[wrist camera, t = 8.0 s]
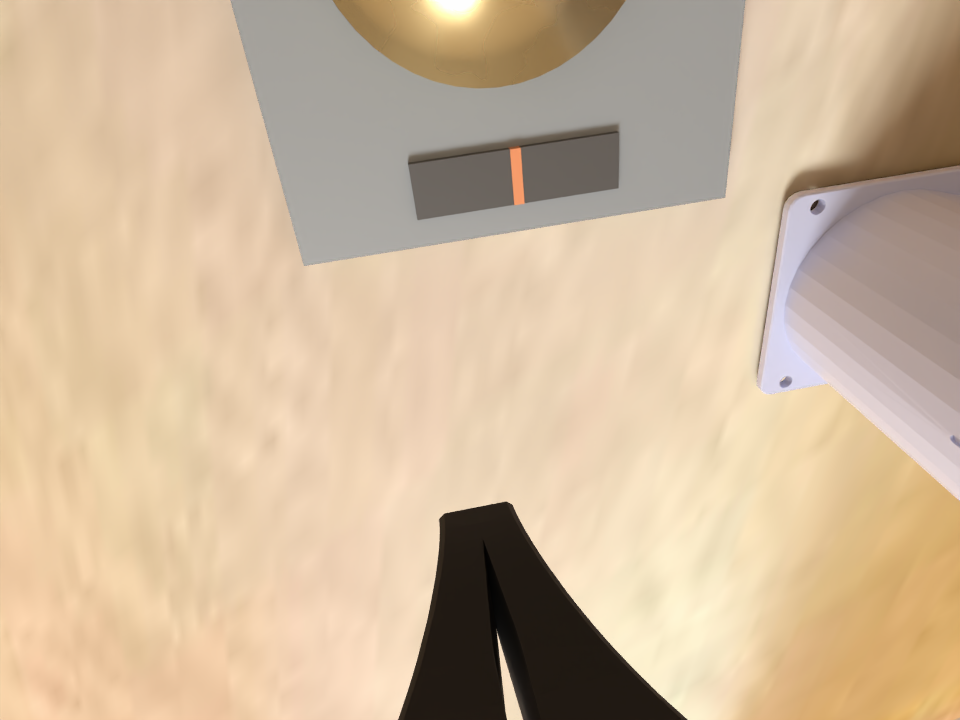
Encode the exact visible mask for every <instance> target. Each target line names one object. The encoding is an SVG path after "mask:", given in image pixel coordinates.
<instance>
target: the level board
mask: <svg viewBox="0 0 960 720" xmlns="http://www.w3.org/2000/svg"><path fill="white" fill-rule="evenodd" d="M231 4H232V8H233V11H234V15H235V18H236V22H237V26H238V29H239V33H240V36H241V40H242V44H243V47H244V51H245V55H246V58H247V62H248V65H249V69H250V73H251V76H252V80H253V83H254V87H255V91H256V94H257V98H258V101H259V105H260V109H261V112H262V116H263V119H264V123H265V127H266V130H267V134H268V138H269V141H270V145H271V148H272V152H273V156H274V159H275V163H276V166H277V170H278V174H279V177H280V181H281V184H282V188H283V192H284V195H285V199H286V202H287V206H288V210H289V213H290V217H291V221H292V224H293V228H294V231H295V235H296V239H297V242H298V246H299V249H300V253H301V257H302V260H303V264H304V266H307V265H313V264H319V263H325V262H332V261H338V260H344V259H350V258H356V257H362V256H369V255H375V254H381V253H387V252H393V251H399V250H405V249H412V248H418V247H424V246H430V245H436V244H442V243H449V242H455V241H461V240H467V239H473V238H479V237H486V236H492V235H498V234H504V233H510V232H516V231H522V230H529V229H535V228H541V227H547V226H553V225H559V224H566V223H572V222H578V221H584V220H590V219H596V218H603V217H609V216H615V215H621V214H627V213H633V212H640V211H646V210H652V209H658V208H664V207H670V206H676V205H683V204H689V203H695V202H701V201H707V200H713V199H720V198H725V194H726V185H727V175H728V165H729V155H730V145H731V136H732V126H733V116H734V106H735V96H736V86H737V77H738V67H739V57H740V47H741V37H742V28H743V18H744V8H745V0H626V1H625V2H624V4H623V5H622V7H621V8H620V9H619V11H618V12H617V14H616V15H615V16H614V18H613V19H612V21H611V22H610V23H609V24H608V25H607V26H606V27H605V28H604V30H603V31H602V32H601V33H600V34H599V35H598V36H597V37H596V38H595V39H594V40H593V41H592V42H591V43H590V44H589V45H587V46H586V47H585V48H584V49H583V50H582V51H581V52H579V53H578V54H577V55H576V56H574V57H573V58H571V59H570V60H568V61H567V62H565V63H564V64H562V65H561V66H559V67H557V68H555V69H553V70H551V71H549V72H547V73H545V74H543V75H541V76H539V77H536V78H533V79H531V80H528V81H525V82H522V83H519V84H514V85H508V86H503V87H498V88H478V89H477V88H466V87H455V86H451V85H447V84H443V83H439V82H434V81H432V80H429V79H427V78H424V77H422V76H419V75H417V74H414V73H412V72H410V71H408V70H407V69H405V68H403V67H401V66H399V65H398V64H396V63H394V62H392V61H391V60H390V59H388V58H387V57H386V56H384V55H383V54H382V53H380V52H379V51H378V50H376V49H375V48H374V47H373V46H372V45H370V44H369V43H368V42H367V41H366V40H365V39H364V38H363V37H362V36H361V35H360V34H359V33H358V32H357V31H356V30H355V29H354V28H353V27H352V25H351V24H350V23H349V22H348V21H347V19H346V18H345V17H344V16H343V14H342V13H341V12H340V11H339V10H338V8H337V6H336V5H335V3H334V2H333V0H231Z"/></svg>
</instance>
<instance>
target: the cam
mask: <svg viewBox="0 0 960 720" xmlns="http://www.w3.org/2000/svg"><path fill="white" fill-rule="evenodd" d="M625 1H626V0H333V2H334V3H335V5H336V6H337V8H338V10H339V11H340V12H341V13H342V14H343V16H344V17H345V18H346V19H347V21H348V22H349V23H350V24H351V25H352V27H353V28H354V29H355V30H356V31H357V32H358V33H359V34H360V35H361V36H362V37H363V38H364V39H365V40H366V41H367V42H368V43H369V44H370V45H372V46H373V47H374V48H375V49H376V50H378V51H379V52H380V53H382V54H383V55H384V56H386V57H387V58H388V59H390V60H391V61H392V62H394V63H396V64H398V65H399V66H401V67H403V68H405V69H407V70H408V71H410V72H412V73H414V74H417V75H419V76H422V77H424V78H427V79H429V80H432V81H434V82H439V83H443V84H447V85H451V86H455V87H466V88H477V89H478V88H498V87H503V86H508V85H514V84H519V83H522V82H525V81H528V80H531V79H533V78H536V77H539V76H541V75H543V74H545V73H547V72H549V71H551V70H553V69H555V68H557V67H559V66H561V65H562V64H564V63H565V62H567V61H568V60H570V59H571V58H573V57H574V56H576V55H577V54H578V53H579V52H581V51H582V50H583V49H584V48H585V47H586V46H587V45H589V44H590V43H591V42H592V41H593V40H594V39H595V38H596V37H597V36H598V35H599V34H600V33H601V32H602V31H603V30H604V28H605V27H606V26H607V25H608V24H609V23H610V22H611V21H612V19H613V18H614V16H615V15H616V14H617V12H618V11H619V9H620V8H621V7H622V5H623V4H624V2H625Z"/></svg>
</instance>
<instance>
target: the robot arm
mask: <svg viewBox="0 0 960 720" xmlns="http://www.w3.org/2000/svg"><path fill="white" fill-rule="evenodd" d="M816 200H818V204H817V206H816V207H815V208H814V209H813V210H811V211H810V208H811V205H812V204H813V203H814V202H815V201H816ZM784 377H786V378H785V379H784V380H783V381H781V380H782V379H783V378H784ZM780 381H781V382H780ZM822 384H829V385H830V386H832V387H833V388H834V389H835V390H836V391H837V392H838V393H839V394H840V395H842V396H843V397H844V398H845V399H846V400H847V401H848V402H849V403H851V404H852V405H853V406H854V407H855V408H856V409H857V410H858V411H860V412H861V413H862V414H863V415H864V416H865V417H866V418H867V419H868V420H870V421H871V422H872V423H873V424H874V425H875V426H876V427H877V428H879V429H880V430H881V431H882V432H883V433H884V434H885V435H886V436H888V437H889V438H890V439H891V440H892V441H893V442H894V443H895V444H896V445H898V446H899V447H900V448H901V449H902V450H903V451H904V452H905V453H907V454H908V455H909V456H910V457H911V458H912V459H913V460H914V461H916V462H917V463H918V464H919V465H920V466H921V467H922V468H923V469H924V470H926V471H927V472H928V473H929V474H930V475H931V476H932V477H933V478H935V479H936V480H937V481H938V482H939V483H940V484H941V485H942V486H944V487H945V488H946V489H947V490H948V491H949V492H950V493H951V494H952V495H954V496H955V497H956V498H957V499H958V500H959V501H960V165H958V166H952V167H946V168H940V169H934V170H927V171H921V172H915V173H909V174H903V175H897V176H891V177H885V178H878V179H872V180H866V181H860V182H854V183H848V184H842V185H836V186H829V187H823V188H817V189H811V190H805V191H799V192H797V193H794V194H793V195H791V196H790V197H789V198H788V199H787V201H786V202H785V205H784V208H783V213H782V220H781V226H780V233H779V239H778V246H777V252H776V259H775V265H774V272H773V278H772V285H771V292H770V298H769V305H768V311H767V318H766V324H765V331H764V337H763V344H762V350H761V357H760V363H759V370H758V376H757V386H758V388H759V389H760V390H761V391H762V392H763V393H765V394H775V393H780V392H785V391H790V390H796V389H801V388H806V387H812V386H817V385H822ZM439 522H440V543H439V555H438V564H437V571H436V578H435V584H434V589H433V594H432V600H431V605H430V610H429V615H428V620H427V624H426V628H425V632H424V636H423V639H422V643H421V647H420V651H419V655H418V659H417V663H416V666H415V669H414V673H413V676H412V680H411V683H410V686H409V689H408V692H407V695H406V698H405V701H404V704H403V707H402V710H401V713H400V716H399V719H398V720H507V718H506V713H505V704H504V695H503V685H502V676H501V667H500V658H499V649H498V639H497V633H498V636H499V639H500V643H501V646H502V650H503V653H504V656H505V660H506V663H507V667H508V670H509V673H510V677H511V680H512V683H513V687H514V690H515V693H516V697H517V700H518V704H519V707H520V710H521V714H522V717H523V720H687V719H686V718H685V717H684V716H683V715H682V714H681V713H679V712H678V711H677V710H676V709H675V708H674V707H673V706H672V705H671V704H669V703H668V702H667V701H666V700H665V699H664V698H663V697H662V696H661V695H660V694H658V693H657V692H656V691H655V690H654V689H653V688H652V687H651V686H650V685H649V684H648V683H647V682H646V681H645V680H644V679H643V678H642V677H641V676H640V675H639V674H638V673H637V672H636V671H635V670H634V669H633V668H632V667H631V666H630V665H629V664H628V663H627V662H626V660H625V659H624V658H623V657H622V656H621V655H620V654H619V653H618V652H617V651H616V650H615V649H614V648H613V647H612V646H611V644H610V643H609V642H608V641H607V640H606V639H605V638H604V637H603V635H602V634H601V633H600V632H599V631H598V630H597V629H596V627H595V626H594V625H593V624H592V623H591V621H590V620H589V619H588V618H587V617H586V615H585V614H584V613H583V612H582V611H581V609H580V608H579V607H578V606H577V604H576V603H575V602H574V601H573V599H572V598H571V597H570V595H569V594H568V593H567V592H566V590H565V589H564V587H563V586H562V585H561V583H560V582H559V581H558V579H557V578H556V576H555V575H554V574H553V572H552V571H551V570H550V568H549V567H548V565H547V564H546V562H545V561H544V560H543V558H542V557H541V555H540V554H539V552H538V550H537V549H536V547H535V546H534V544H533V543H532V541H531V539H530V538H529V536H528V534H527V533H526V531H525V529H524V527H523V526H522V524H521V522H520V520H519V518H518V516H517V514H516V512H515V510H514V507H513V505H512V504H510V503H508V502H502V503H496V504H491V505H486V506H481V507H476V508H471V509H466V510H461V511H455V512H450V513H445V514H444V515H443V516H442V517H441V518H440V519H439ZM496 629H497V630H496Z"/></svg>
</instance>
